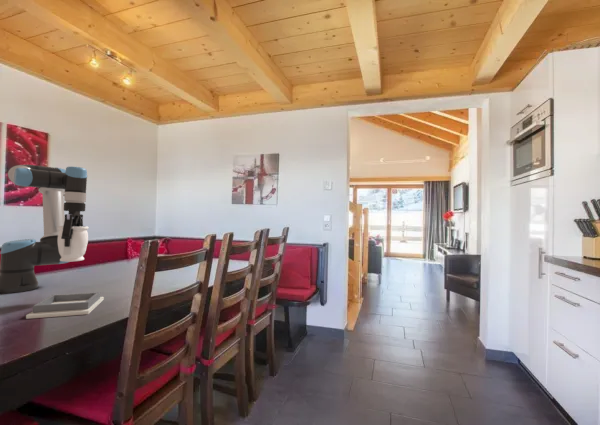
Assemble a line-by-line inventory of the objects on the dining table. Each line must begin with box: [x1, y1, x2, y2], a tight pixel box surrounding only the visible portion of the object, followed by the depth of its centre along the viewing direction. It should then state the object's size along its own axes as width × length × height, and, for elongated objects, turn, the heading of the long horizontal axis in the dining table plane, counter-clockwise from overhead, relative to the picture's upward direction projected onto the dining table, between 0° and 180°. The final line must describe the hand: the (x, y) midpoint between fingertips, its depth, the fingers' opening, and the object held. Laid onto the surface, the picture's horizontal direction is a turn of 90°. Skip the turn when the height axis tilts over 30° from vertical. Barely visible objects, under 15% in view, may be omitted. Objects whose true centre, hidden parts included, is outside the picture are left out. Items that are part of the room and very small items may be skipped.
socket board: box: [25, 292, 105, 320], centre depth 112 cm, size 20×18×4 cm
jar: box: [58, 225, 90, 263], centre depth 127 cm, size 11×10×15 cm
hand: (72, 252), depth 127 cm, fingers closed on jar, 10 cm apart
